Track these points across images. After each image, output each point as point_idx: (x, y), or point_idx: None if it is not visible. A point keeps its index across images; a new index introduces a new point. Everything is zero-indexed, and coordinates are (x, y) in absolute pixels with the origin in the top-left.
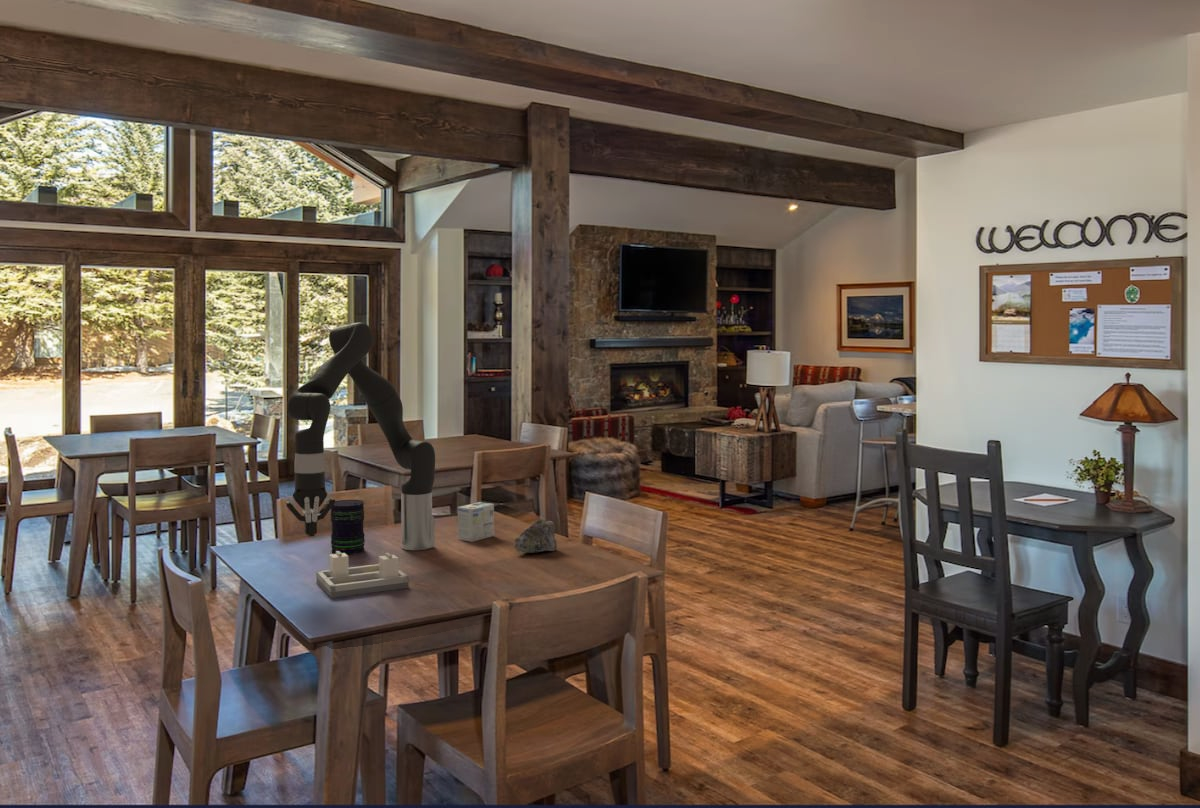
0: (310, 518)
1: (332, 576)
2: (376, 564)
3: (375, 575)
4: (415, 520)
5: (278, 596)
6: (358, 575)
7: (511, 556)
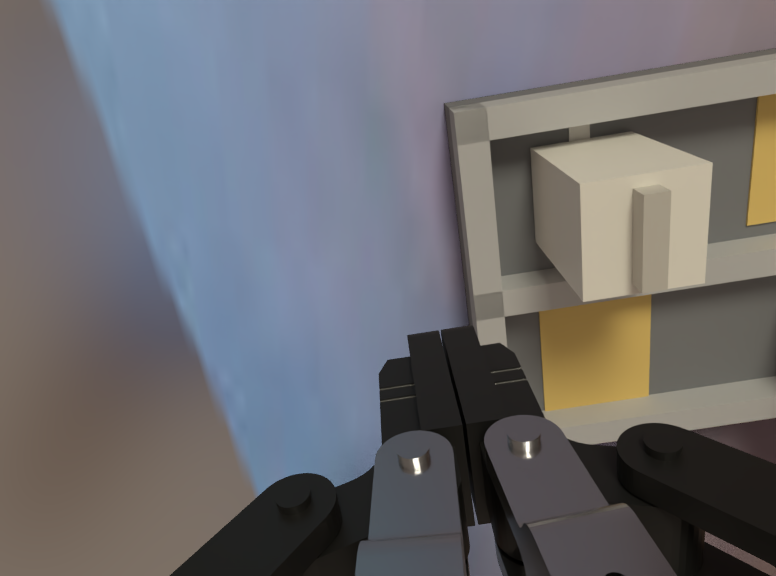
0: (485, 445)
1: (539, 228)
2: None
3: None
4: None
5: (228, 320)
6: (686, 287)
7: None
